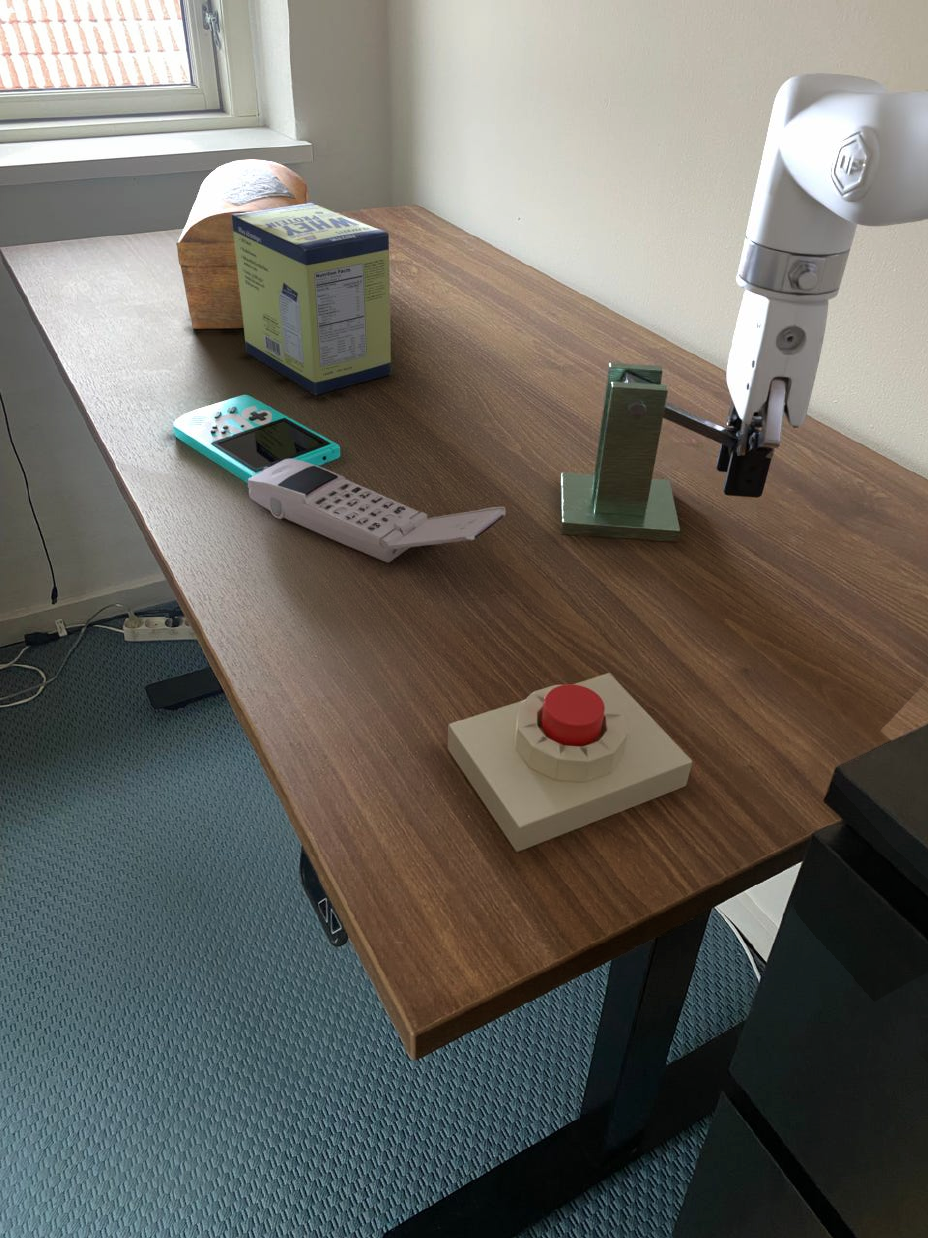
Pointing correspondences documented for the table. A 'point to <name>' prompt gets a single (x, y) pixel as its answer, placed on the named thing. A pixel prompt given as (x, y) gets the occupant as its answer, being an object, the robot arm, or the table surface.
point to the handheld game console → (251, 437)
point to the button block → (565, 765)
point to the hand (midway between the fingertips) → (738, 480)
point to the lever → (696, 421)
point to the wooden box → (228, 235)
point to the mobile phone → (358, 511)
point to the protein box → (314, 295)
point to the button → (572, 715)
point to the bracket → (624, 466)
